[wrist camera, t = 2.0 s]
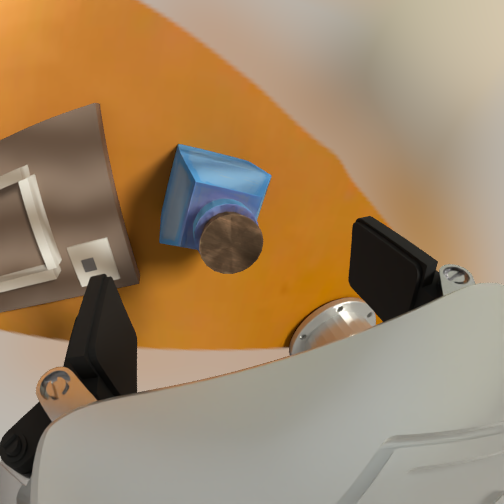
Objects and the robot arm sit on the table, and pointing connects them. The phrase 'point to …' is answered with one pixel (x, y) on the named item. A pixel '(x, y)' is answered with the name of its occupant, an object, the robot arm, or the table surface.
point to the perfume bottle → (214, 208)
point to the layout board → (59, 212)
